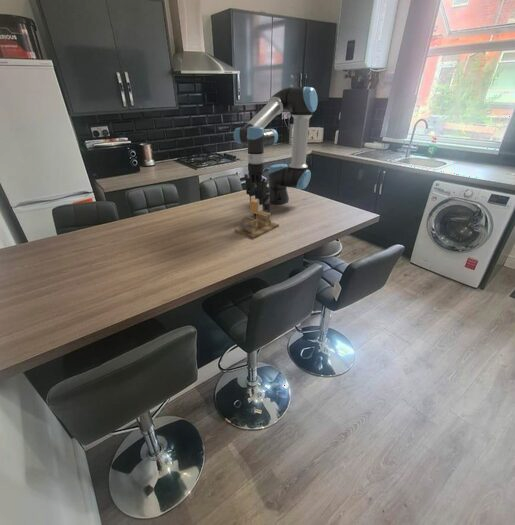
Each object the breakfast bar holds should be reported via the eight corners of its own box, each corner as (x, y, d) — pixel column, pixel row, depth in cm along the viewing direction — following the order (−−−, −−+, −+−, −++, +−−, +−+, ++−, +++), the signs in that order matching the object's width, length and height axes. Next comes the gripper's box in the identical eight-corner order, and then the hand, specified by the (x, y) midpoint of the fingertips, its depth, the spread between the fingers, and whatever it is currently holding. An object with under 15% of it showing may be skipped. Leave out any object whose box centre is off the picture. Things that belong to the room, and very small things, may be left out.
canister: (260, 211, 177) (260, 182, 168) (273, 215, 172) (273, 185, 163) (250, 216, 171) (249, 186, 162) (262, 220, 166) (262, 189, 156)
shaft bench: (259, 219, 166) (259, 207, 163) (278, 226, 158) (279, 213, 155) (234, 231, 154) (233, 218, 150) (253, 238, 146) (253, 225, 142)
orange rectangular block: (256, 209, 154) (256, 198, 151) (262, 211, 151) (262, 200, 148) (250, 212, 150) (250, 201, 147) (256, 214, 148) (256, 202, 145)
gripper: (237, 161, 141) (239, 207, 153) (264, 166, 131) (264, 215, 143) (248, 158, 146) (249, 203, 158) (274, 163, 136) (273, 211, 148)
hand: (256, 209), depth 150 cm, fingers closed on orange rectangular block, 4 cm apart
